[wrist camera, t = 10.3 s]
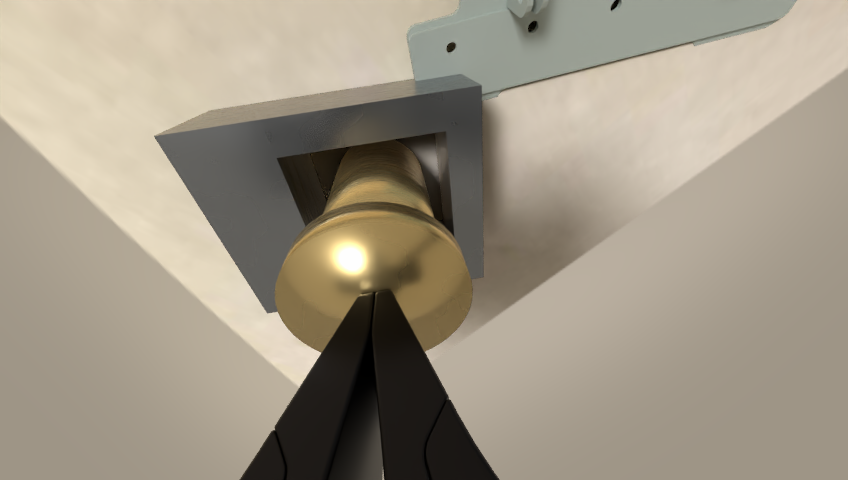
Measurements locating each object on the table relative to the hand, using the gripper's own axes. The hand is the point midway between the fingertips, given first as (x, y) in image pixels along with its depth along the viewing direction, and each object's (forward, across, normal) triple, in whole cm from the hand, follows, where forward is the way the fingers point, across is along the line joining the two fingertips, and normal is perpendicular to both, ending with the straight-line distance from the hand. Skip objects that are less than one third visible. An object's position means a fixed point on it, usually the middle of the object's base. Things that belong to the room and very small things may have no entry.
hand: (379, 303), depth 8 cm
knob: (+8, 0, 0) cm, 8 cm away
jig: (+8, 0, 0) cm, 8 cm away
